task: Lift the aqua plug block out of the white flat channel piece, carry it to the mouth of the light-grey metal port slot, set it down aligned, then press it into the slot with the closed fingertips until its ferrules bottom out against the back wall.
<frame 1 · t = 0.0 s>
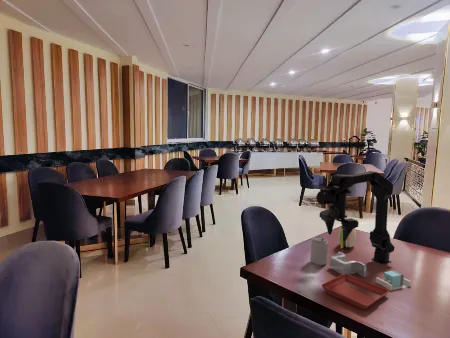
hand: (336, 237, 137), 15 cm above the table, tool pointing down, fingers open, 9 cm apart
white flat channel piece: (392, 285, 125), on the table
plant saucer: (354, 296, 116), on the table
port: (344, 270, 137), on the table
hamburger: (346, 246, 169), on the table
can: (318, 263, 145), on the table
plug: (393, 284, 125), point 1 cm above the table, touching white flat channel piece
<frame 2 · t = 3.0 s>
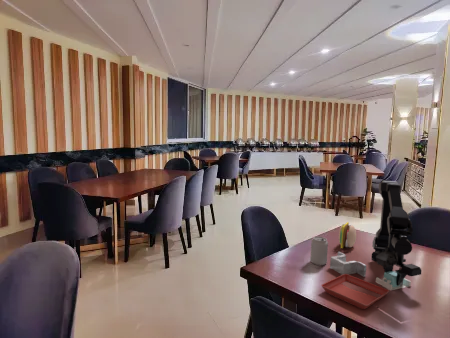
hand: (393, 282, 124), 1 cm above the table, tool pointing down, fingers closed on plug, 4 cm apart
plug: (393, 284, 125), point 1 cm above the table, touching gripper, white flat channel piece
everything else where it was.
when the fingers open (1 cm above the table, at t = 6.3 s): plug stays where it is, on the table.
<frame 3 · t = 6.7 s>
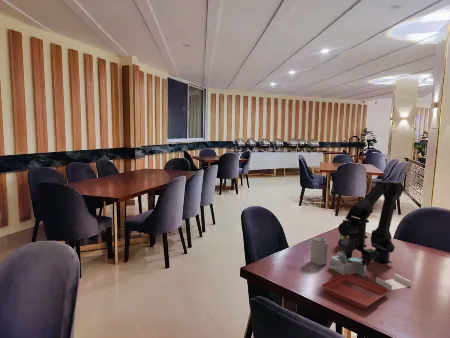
hand: (355, 266, 139), 1 cm above the table, tool pointing down, fingers open, 9 cm apart
plug: (355, 269, 139), on the table
everything else where it was.
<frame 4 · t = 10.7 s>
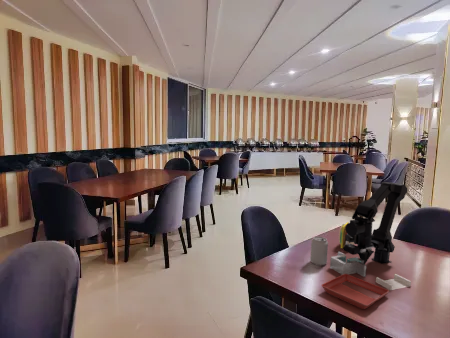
hand: (363, 264, 141), 1 cm above the table, tool pointing down, fingers closed
plug: (354, 269, 139), on the table, touching gripper
everything else where it was.
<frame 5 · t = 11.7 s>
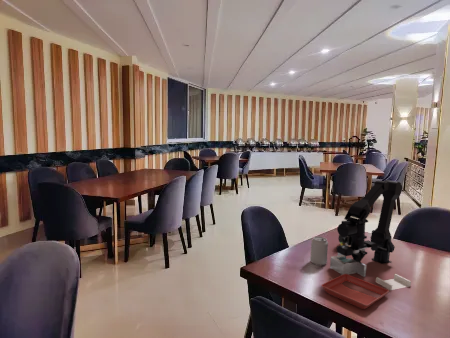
hand: (356, 266, 139), 1 cm above the table, tool pointing down, fingers closed
plug: (348, 270, 138), on the table, touching gripper
everything else where it was.
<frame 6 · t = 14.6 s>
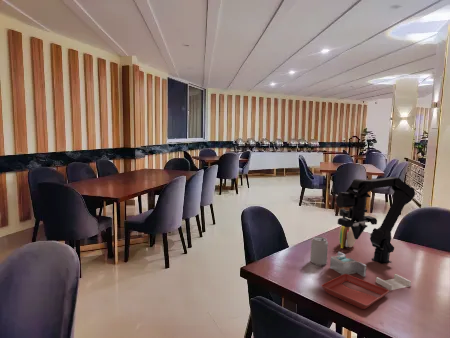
hand: (356, 239, 144), 12 cm above the table, tool pointing down, fingers closed
plug: (347, 270, 138), on the table
everything else where it was.
at the end: plug 1.1 cm from the target spot on the port, point 0.0 cm above the port's base; plug tilted 0°; the gripper is holding nothing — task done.
